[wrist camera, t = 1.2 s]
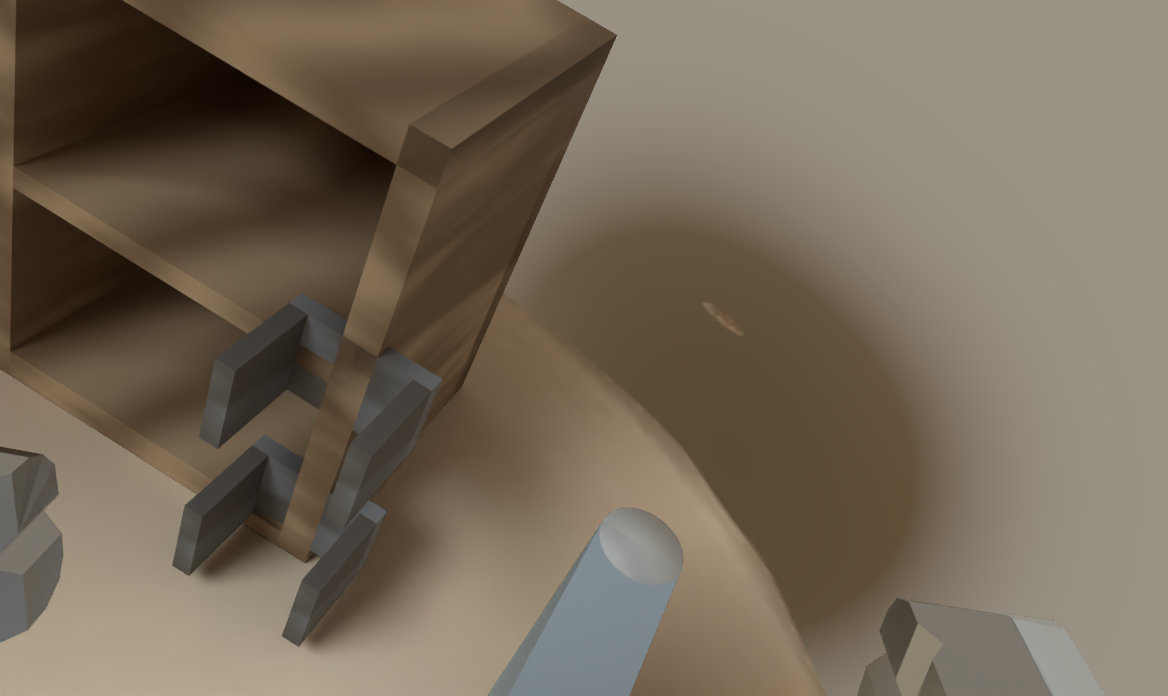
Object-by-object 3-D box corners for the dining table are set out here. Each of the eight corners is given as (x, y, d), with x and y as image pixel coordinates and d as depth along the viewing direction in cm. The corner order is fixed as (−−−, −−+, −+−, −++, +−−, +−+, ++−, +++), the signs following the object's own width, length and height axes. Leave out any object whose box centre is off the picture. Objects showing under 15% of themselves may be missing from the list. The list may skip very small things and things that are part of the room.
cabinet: (-100, 405, 40) (-145, -120, 26) (206, 228, 55) (275, -163, 42) (293, 659, 38) (453, 241, 25) (496, 406, 54) (663, 61, 40)
